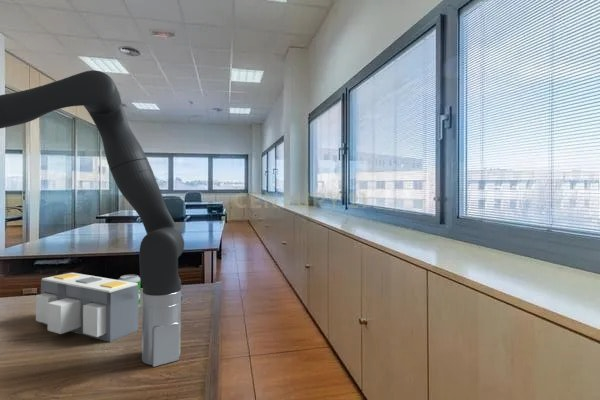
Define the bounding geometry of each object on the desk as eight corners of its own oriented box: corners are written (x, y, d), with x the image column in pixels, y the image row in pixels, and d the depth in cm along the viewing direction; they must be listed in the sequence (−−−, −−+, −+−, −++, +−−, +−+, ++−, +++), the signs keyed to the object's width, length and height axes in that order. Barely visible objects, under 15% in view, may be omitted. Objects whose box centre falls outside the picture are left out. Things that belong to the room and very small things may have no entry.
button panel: (110, 342, 96) (110, 289, 96) (40, 323, 109) (41, 277, 109) (138, 330, 105) (138, 282, 105) (70, 314, 118) (71, 271, 118)
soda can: (133, 313, 120) (134, 279, 119) (112, 312, 120) (113, 278, 120) (144, 306, 127) (144, 274, 127) (124, 305, 127) (124, 273, 127)
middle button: (60, 334, 96) (60, 305, 96) (47, 330, 99) (47, 302, 99) (91, 323, 105) (91, 297, 105) (78, 320, 107) (78, 294, 107)
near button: (97, 337, 95) (97, 308, 95) (83, 333, 97) (83, 305, 97) (125, 325, 103) (125, 299, 103) (111, 322, 105) (111, 296, 105)
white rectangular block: (48, 323, 104) (48, 297, 103) (35, 320, 106) (36, 295, 106) (77, 314, 112) (77, 290, 112) (65, 311, 114) (65, 288, 114)
